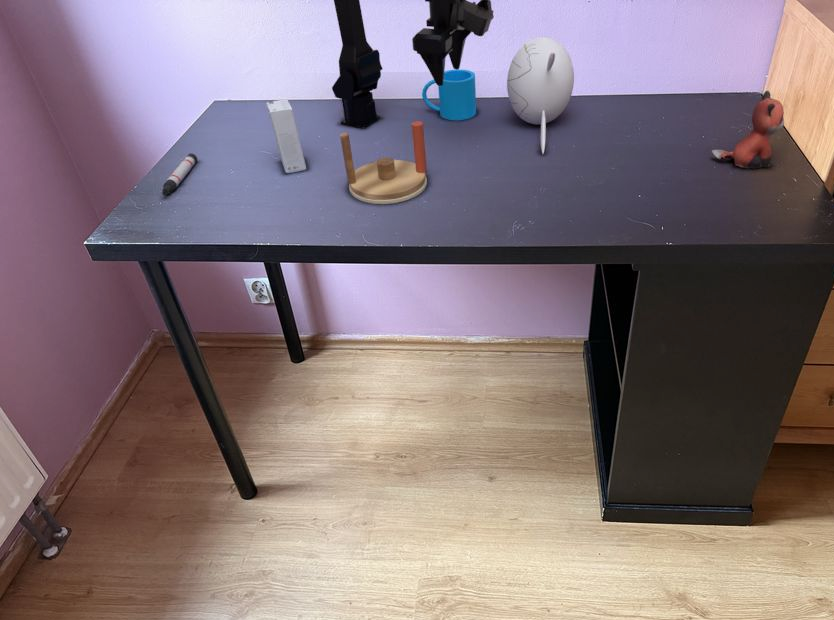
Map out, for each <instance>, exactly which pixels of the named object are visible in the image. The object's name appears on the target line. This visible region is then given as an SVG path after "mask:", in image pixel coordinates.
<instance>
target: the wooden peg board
mask: <svg viewBox="0 0 834 620" xmlns="http://www.w3.org/2000/svg"><path fill="white" fill-rule="evenodd" d="M411 132H412V133H411V134H412V143H413V151H414V153H413V154H414V162H412V161H408V160H402V159H394V158H392V157H381V158H379V159H377V160H376V161H374V162H371V163H367V164H364V165H362V166H360V167H359V168H358V167H357V168H356V169H355V166H354V159H353V153H352V147H351V141H350V134H349V133H348V132H342V133H340V134H339V138H340V145H341V149H342V157H343V161H344V168H345V173H346V179H347V184H348V185H349V184H350V188H351V190H352V191H353V192H354V193H355V194H357V195H359V196H361V197H365V198H369V199H378V200H385V199H395V198H400V197H403V196H407V195H409V194H412V193H414V192H416V191H417V190H419V189H420V188H421V187H422V186H423V185H424V183H425V176H426V172H427V171H428V169H427V168H428V167H427V156H426V144H425V133H424V123H423V121H419V120H418V121H416V120H415V121H412V123H411Z"/></svg>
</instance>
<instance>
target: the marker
mask: <svg viewBox="0 0 834 620" xmlns="http://www.w3.org/2000/svg"><path fill="white" fill-rule="evenodd" d="M197 161H198V157H197V155H195V154H194V153H188V154H187V156H186V157H185V158H183V160H181V162H180V163H179V165H178V166H177V167H176V168H175V170H174V171H173V172H172V173H171V174H170V176H169V177H168V178H167V179H166V181H165V182H164V184H163V186H162V190H161V191H162V194H163V195H168V194H170V193H174V191H175V190H176V189H177V188H178V186H179V185H180V183H182V181H183V180H184V178H185V177H186V176H187V175H188V174H189V172H190V171H191V169H192V168H193V167H194V166H195V164H196V163H197Z"/></svg>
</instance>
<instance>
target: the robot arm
mask: <svg viewBox="0 0 834 620" xmlns="http://www.w3.org/2000/svg"><path fill="white" fill-rule="evenodd" d="M424 2H427V3H428V7H429V18H428V19H426V27H423V28H421V29H420V30H419V31H418V32H416V34H415V35H414V36H413V37H412V39H411V41H412V50H413V51H414V52H416V54H418V55H419V56H420V57H421V59H422V60H423V62H424V64H425V66H426V67H427V69H428V71H429V73H430V75H431V76H432V77H431V78H432V79H433V80H435V82H436V83H435V84H436V85H437V87H438V86H442V85H443V81H444V71H446V69H445V67H446V58H447V56H449V61H450V63H451V65H452V68H453V70H456V69H460V66H461V63H462V58H463V55H464V54H463V53H464V48H465V44H466V40H467V38H468V37H469V36H470V35H471V33H473V35H475V36H477V37H483V36H484V35H485V34H486V33H487V32H489V28H490V27H491V26H490V25H491V22H492V20H493V19H494V10H493V9H492V2H491V0H480V1H478V2H476V1H473V2H471V1H468V0H424ZM333 3H334V9H335V13H336V18H337V24H338V29H339V33H340V34H339V35H340V38H341V43H342V45H341V51H340V53H339V57H338V58H339V59H338V69H339V76H338V78H337V79H336V81H335V82H334V83H333V85H332V86H331V90H332V92H333V95H334V97H335V98H336V99H339V100H341V104H342V108H343V109H342V110H343V115H344V116H343V117H344V119H341V120H340V124H341V125H345V126H350V127H355V128H359V129H365V128H367V127H368V126H370V125H371V124H373V123H375V122H376V121H378V120H380V119H381V116H380V115H379V114H377V109H376V101H375V100H374V96H373V95H374V94H373V92H372V91H373V90H377V89H378V84H379V80H380V78H381V76H382V70H383V66H382V64H381V58H380V52H379V49H373V48H372V46H371V45H370V43H368V40H367V36H366V30H365V25H364V20H363V13H362V8H361V1H360V0H333Z"/></svg>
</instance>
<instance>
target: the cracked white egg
mask: <svg viewBox="0 0 834 620" xmlns="http://www.w3.org/2000/svg"><path fill="white" fill-rule="evenodd" d="M574 70H575V69H574V65H573V62H572V58H571V56H570V54H569V52H568V51H567V49H566V48H565V47H564V45H563V44H561V43H560V42H559V41H557V40H556V39H554V38H551V37H547V36H546V37H545V36H539V37H535V38H532V39H530V40H528V41H527V42H525V43H524V44H523V45H521V46H520V47H519V49H518V50H517V52H516V53H515V54H514V56H513V58H512V60H511V62H510V65H509V68H508V73H507V78H506V91H507V97H508V100H509V103H510V105H511V107H512V110H513V111H514V112H515V114H516V115H517V116H518V117H519V118H520V119H521V120H523V121H524V122H526V123H528V124H532V125H540V149H541V150H540V151H541V153H542V155H544V154H545V149H546V143H547V142H546V139H547V127H546V126H547V124H548V123H550V122H552V121H553V120H555V119H557V118H558V117H559V116H560V115H561V114H562V113H563V112H564V110H565V109H566V107H567V106H568V104H569V102H570V100H571V97H572V94H573V90H574V85H575V71H574Z"/></svg>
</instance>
